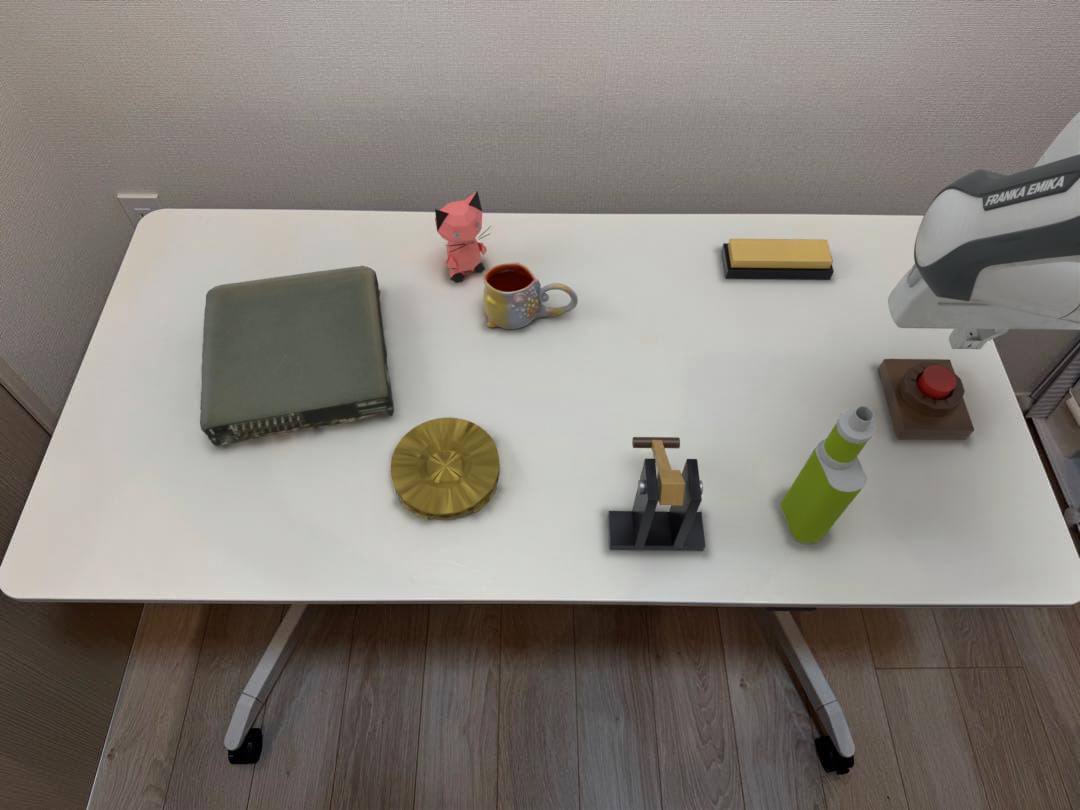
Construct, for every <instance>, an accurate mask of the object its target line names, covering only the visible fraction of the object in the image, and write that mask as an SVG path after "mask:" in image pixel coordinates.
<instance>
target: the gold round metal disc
mask: <svg viewBox="0 0 1080 810" xmlns="http://www.w3.org/2000/svg"><path fill="white" fill-rule="evenodd" d="M389 471H390V477H391V481H392V485H393V487H394V490H395V492H396V494H397V496H398V498H399V499H400V501H401V504H402V505H403V506H404V507H405V508H406V509H407V510H408V511H409V512H410V513H412V514H414V515H415V516H417V517H419V518H422V519H423V520H426V521H429V519H435V520H451V519H456V518H460V517H463V516H466V515H468V514H470V513H472V512H473V513H474V514H476V513H477V512H479V511H481V510H482V509H483V508H484V507H485V506H487V504H488V503H489V502H490V501H491V500H492V498H493V497H494V495H495V494H496V491H497V485H498V482H499V478H500V474H501V473H500V472H501V465H500V455H499V451H498V447H497V445H496V443H495V441H494V440H493V438H492V437H491V436H490V435H489V433H488V432H487V431H486V430H485V429H483V428H482V427H481V426H480V425H478V424H476V423H474V422H472V421H469V420H467V419H463V418H459V417H437V418H433V419H429V420H427V421H424V422H421V423H419V424H418V425H416V426H414V427H413V428H412V429H410V430H409V431H407V433H406V434H405V435H403V437H402V438H401V439H400V441H398V443H397V445H396V447H395V448H394V451H393V453H392V456H391V460H390V470H389Z"/></svg>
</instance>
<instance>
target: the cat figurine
mask: <svg viewBox="0 0 1080 810" xmlns="http://www.w3.org/2000/svg"><path fill="white" fill-rule="evenodd" d="M478 191H479V190H476V191H475V192H473V193H472V194H471V195H469V196H468V197H467V198H466V199H461V200H455V201H451V202H448V203H447V204H445V205H444V206H443V207H441V208H440V209H437V208H435V209H434V212H435V217H434V222H435V227H436V233H437V234H438V235H439V236H440V237H441V238H442V239H443V240H445V241H447V242H446V243H447V244H446V245H445V244H444V247H445V248H446V252H445V253H446V256H447V259H446V266H447V268H449V280H451V281H453V282H454V283H455V284H458V283H463V281H464V279H465V278H466V273H465V272H467V271H470V272H472V273H475V274H476V273H477V274H482V272H484V271H485V269H486V268H485V265H484V262H482V259H481V254H482V256H484V255H485V254H487V253H486V252H488V250H487V246H485V245H484V243H483V242H479V241H480V240H481V239H483V238H485V237H487V236H489V235H490V233H488V234H486V235H485V233H486V232H487V231H488V230H489V229H490V228H491V226H488V228H487V229H486V230H485V231H483V232H482V233H481V231H482V228H483V209H482V204H481V200H480V196H479V192H478ZM480 233H481V234H480ZM479 234H480V235H479ZM478 235H479V236H478ZM483 235H484V236H483ZM477 237H478V240H477Z"/></svg>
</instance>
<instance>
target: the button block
mask: <svg viewBox="0 0 1080 810" xmlns="http://www.w3.org/2000/svg"><path fill="white" fill-rule="evenodd" d="M930 366H942V367H945V368H947V369H948V370H950V371H951V372H952V373H953V374H954V376H955V378H956V386H955V387H954V389H953V390H952V391H951V392H950V394H949V395H948V396H947V397H945V398H943V399H932V398H929V397H927V396H925V395H924V394H923V393H922V392H921V391H920V389H919V387H918V379H919V378H920V376H921V375H922V374H923V372H924V371H925V370H926V369H927V368H928V367H930ZM877 372H878V375H879V379H880V382H881V387H882V389H883V393H884V397H885V401H886V405H887V408H888V411H889V414H890V419H891V422H892V427H893V430H894V433H895V436H896V439H897V440H949V441H950V440H953V441H954V440H955V441H958V440H959V441H960V440H967V439H968V438H970V436H971V435H972V433H974V431H975V428H974V425H973V422H972V419H971V416H970V414H969V410H968V408H967V404H966V401H965V399H964V395H965V393H966V391H965V388H964V384H963V381H962V379H961V378H960V377H959V376H958V375H957V374H956V372H955V370H954V366H953V364H952V361H951V359H949V358H947V359H944V358H943V359H940V358H937V359H936V358H935V359H934V358H883V360H882V362H881V363H880V365H879V366H878V368H877Z"/></svg>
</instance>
